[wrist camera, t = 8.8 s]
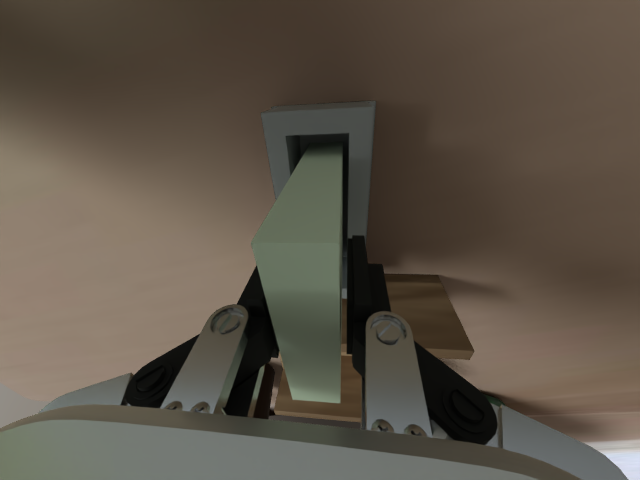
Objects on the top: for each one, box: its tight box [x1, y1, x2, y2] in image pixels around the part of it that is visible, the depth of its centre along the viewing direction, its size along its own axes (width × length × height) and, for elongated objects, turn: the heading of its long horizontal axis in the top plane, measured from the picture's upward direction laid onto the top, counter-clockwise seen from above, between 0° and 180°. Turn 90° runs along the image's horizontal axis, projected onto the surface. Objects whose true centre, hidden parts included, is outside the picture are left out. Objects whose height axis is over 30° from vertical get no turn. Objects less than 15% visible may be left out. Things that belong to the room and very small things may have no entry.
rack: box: [274, 274, 474, 422], centre depth 22 cm, size 13×15×7 cm
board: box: [251, 142, 343, 403], centre depth 12 cm, size 8×2×11 cm, turn 3°
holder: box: [261, 101, 376, 299], centre depth 15 cm, size 12×6×4 cm, turn 3°
